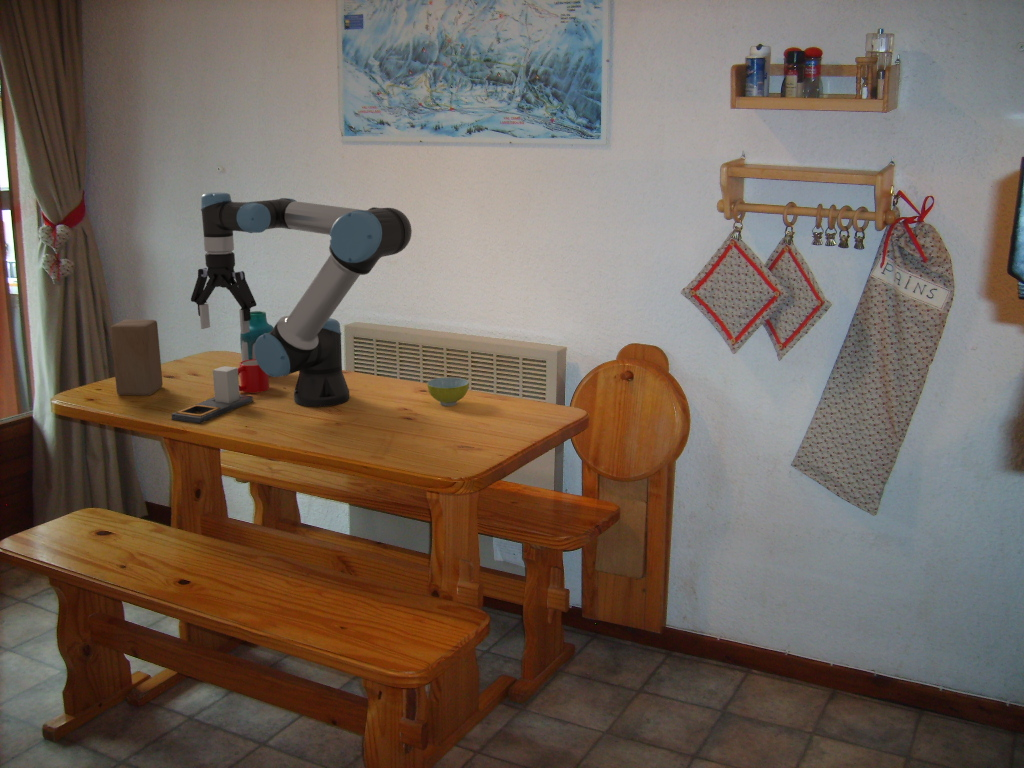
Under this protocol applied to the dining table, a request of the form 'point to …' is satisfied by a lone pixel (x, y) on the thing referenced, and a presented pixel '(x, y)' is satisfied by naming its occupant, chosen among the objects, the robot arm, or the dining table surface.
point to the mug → (252, 377)
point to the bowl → (448, 390)
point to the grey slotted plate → (209, 409)
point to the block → (136, 357)
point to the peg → (226, 384)
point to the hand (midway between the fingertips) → (225, 330)
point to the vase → (253, 334)
